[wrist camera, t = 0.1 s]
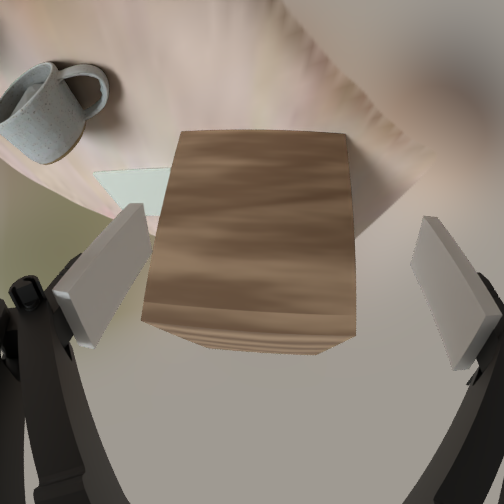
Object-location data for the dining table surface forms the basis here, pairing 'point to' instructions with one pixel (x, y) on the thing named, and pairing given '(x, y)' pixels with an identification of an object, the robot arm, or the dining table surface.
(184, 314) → the small wooden table
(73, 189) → the dining table surface
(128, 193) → the pad
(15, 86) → the ceramic mug
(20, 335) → the robot arm
